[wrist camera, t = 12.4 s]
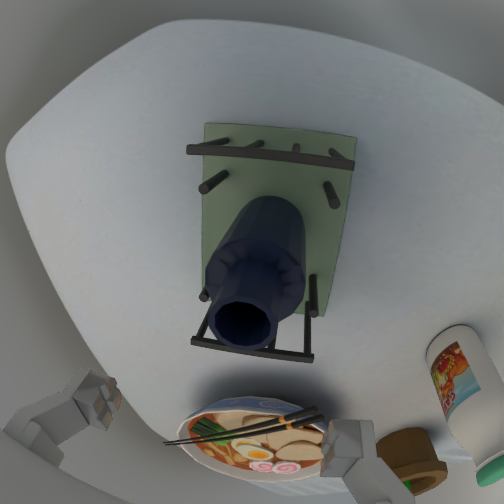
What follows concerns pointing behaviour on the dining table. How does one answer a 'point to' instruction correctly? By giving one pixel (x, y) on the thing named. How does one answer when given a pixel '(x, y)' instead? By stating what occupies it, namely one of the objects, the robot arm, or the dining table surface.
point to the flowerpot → (412, 459)
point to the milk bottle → (470, 398)
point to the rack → (281, 185)
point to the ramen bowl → (255, 439)
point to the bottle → (257, 273)
